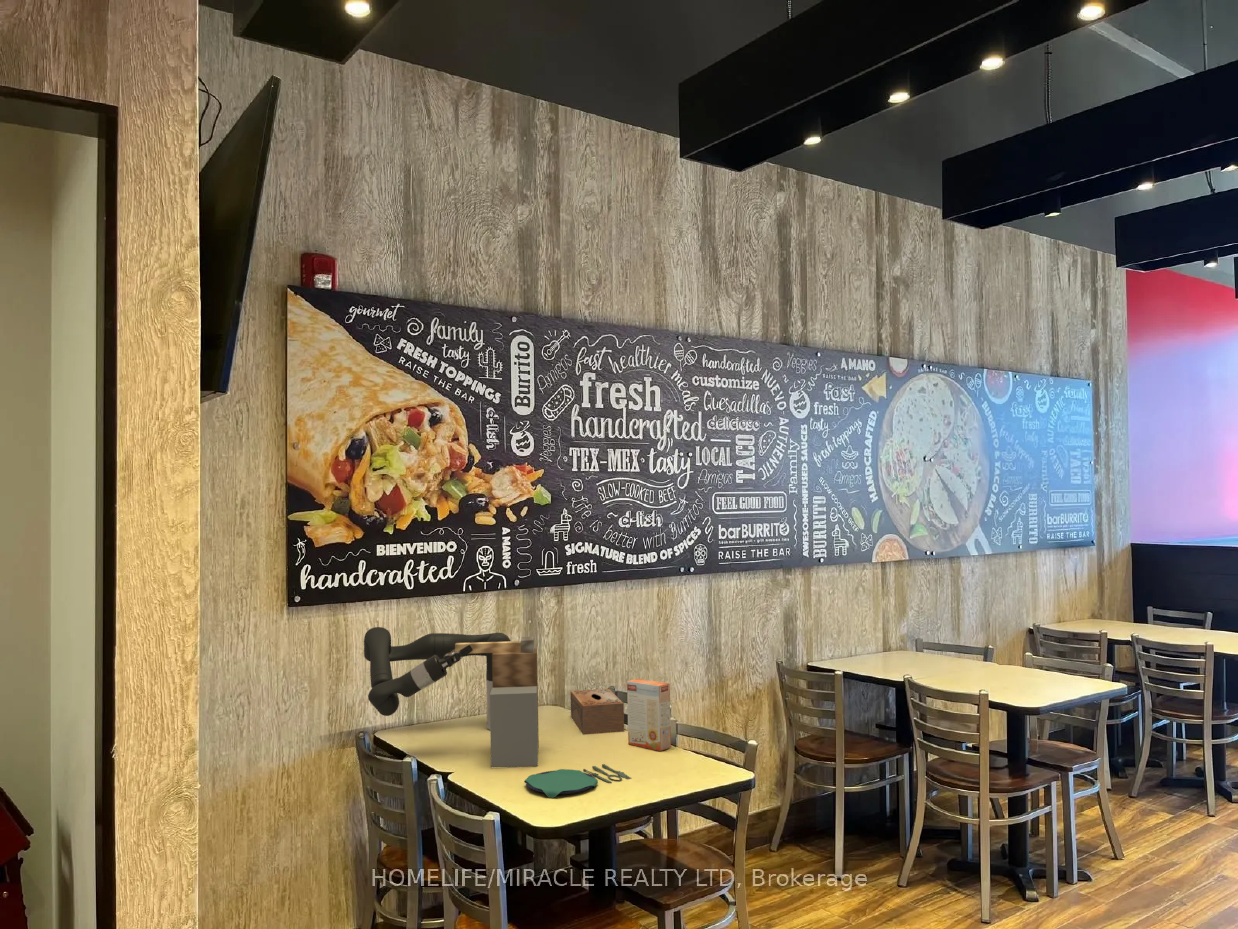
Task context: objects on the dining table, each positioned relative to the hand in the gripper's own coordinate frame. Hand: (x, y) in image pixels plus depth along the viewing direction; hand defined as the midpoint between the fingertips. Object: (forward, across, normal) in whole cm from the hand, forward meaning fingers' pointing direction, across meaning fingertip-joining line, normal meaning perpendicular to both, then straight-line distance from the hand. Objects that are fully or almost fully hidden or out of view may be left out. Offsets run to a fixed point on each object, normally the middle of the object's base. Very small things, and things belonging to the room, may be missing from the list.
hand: (472, 645), depth 289 cm
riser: (-6, 0, -36) cm, 37 cm away
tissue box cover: (+18, -32, -51) cm, 63 cm away
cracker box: (+32, 0, -58) cm, 66 cm away
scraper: (+4, 0, -5) cm, 7 cm away
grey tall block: (-6, +12, -36) cm, 39 cm away
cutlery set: (+10, +34, -46) cm, 59 cm away
